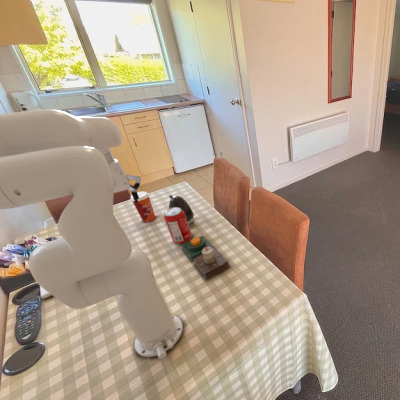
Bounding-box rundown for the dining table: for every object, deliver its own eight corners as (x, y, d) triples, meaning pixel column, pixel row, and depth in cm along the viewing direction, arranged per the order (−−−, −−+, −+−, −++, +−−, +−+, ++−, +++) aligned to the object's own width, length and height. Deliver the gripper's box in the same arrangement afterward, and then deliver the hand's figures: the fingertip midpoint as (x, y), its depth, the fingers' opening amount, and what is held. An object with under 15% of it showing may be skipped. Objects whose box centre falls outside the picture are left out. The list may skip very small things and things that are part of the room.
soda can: (176, 247, 114) (165, 219, 106) (171, 239, 119) (160, 211, 111) (195, 239, 118) (185, 211, 110) (189, 231, 123) (179, 204, 115)
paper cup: (152, 223, 130) (142, 198, 122) (137, 223, 130) (125, 198, 122) (161, 214, 136) (151, 190, 129) (146, 214, 136) (136, 190, 129)
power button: (202, 243, 110) (201, 240, 109) (193, 247, 108) (192, 244, 107) (198, 239, 112) (197, 236, 112) (190, 243, 110) (189, 240, 109)
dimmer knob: (217, 260, 102) (214, 249, 100) (207, 265, 100) (204, 254, 97) (212, 254, 105) (209, 244, 102) (203, 260, 103) (199, 249, 100)
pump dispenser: (188, 215, 135) (179, 189, 127) (200, 222, 130) (191, 195, 122) (168, 225, 128) (158, 198, 120) (180, 232, 123) (170, 204, 115)
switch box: (213, 250, 112) (211, 243, 110) (192, 261, 106) (189, 253, 104) (203, 239, 118) (201, 232, 116) (183, 249, 113) (180, 242, 111)
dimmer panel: (229, 267, 103) (227, 261, 102) (206, 279, 98) (204, 273, 96) (216, 253, 110) (214, 247, 108) (195, 264, 105) (192, 258, 103)
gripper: (62, 169, 77) (89, 218, 86) (131, 156, 85) (149, 202, 94) (65, 161, 83) (90, 208, 91) (130, 150, 91) (147, 193, 99)
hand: (120, 205), depth 93 cm, fingers open, 9 cm apart
